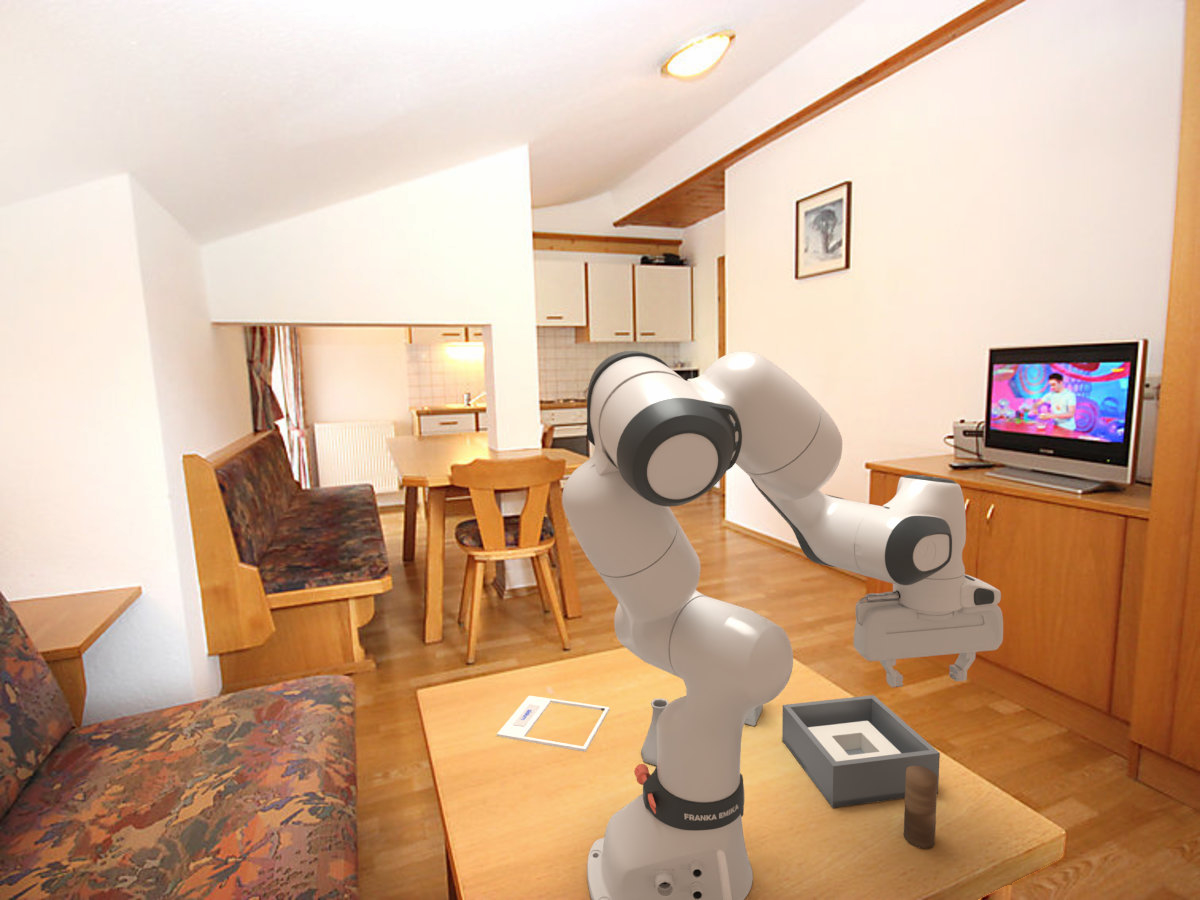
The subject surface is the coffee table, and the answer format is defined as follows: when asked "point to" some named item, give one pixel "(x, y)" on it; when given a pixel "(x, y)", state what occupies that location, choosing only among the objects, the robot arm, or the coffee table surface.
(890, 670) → the robot arm
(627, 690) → the coffee table surface
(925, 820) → the peg
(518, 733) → the photo frame
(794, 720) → the bin
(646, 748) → the flask
